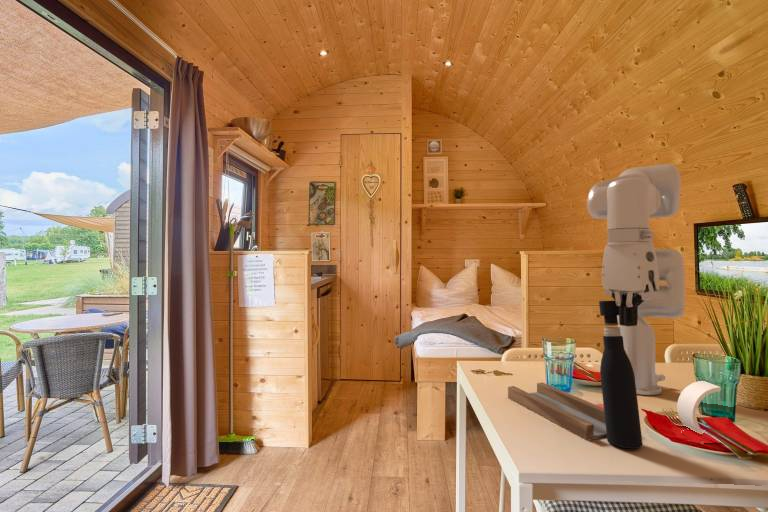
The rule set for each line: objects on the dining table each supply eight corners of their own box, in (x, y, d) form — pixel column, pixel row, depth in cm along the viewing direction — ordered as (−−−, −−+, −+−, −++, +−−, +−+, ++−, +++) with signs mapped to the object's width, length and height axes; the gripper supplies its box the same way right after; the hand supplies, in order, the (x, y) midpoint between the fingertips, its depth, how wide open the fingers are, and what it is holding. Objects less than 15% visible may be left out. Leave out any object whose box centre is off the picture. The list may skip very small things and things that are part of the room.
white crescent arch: (721, 443, 84) (721, 387, 84) (692, 443, 84) (692, 387, 84) (704, 434, 89) (703, 380, 89) (676, 433, 89) (676, 380, 89)
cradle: (542, 393, 115) (542, 382, 115) (627, 432, 89) (627, 418, 89) (508, 398, 112) (508, 386, 112) (586, 440, 86) (586, 425, 86)
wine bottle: (648, 448, 80) (630, 300, 84) (613, 447, 81) (597, 301, 85) (635, 438, 86) (619, 300, 90) (603, 437, 87) (588, 301, 91)
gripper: (676, 236, 77) (677, 330, 77) (610, 240, 91) (610, 319, 91) (649, 236, 75) (649, 332, 75) (585, 239, 89) (585, 321, 89)
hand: (628, 325), depth 83 cm, fingers closed
